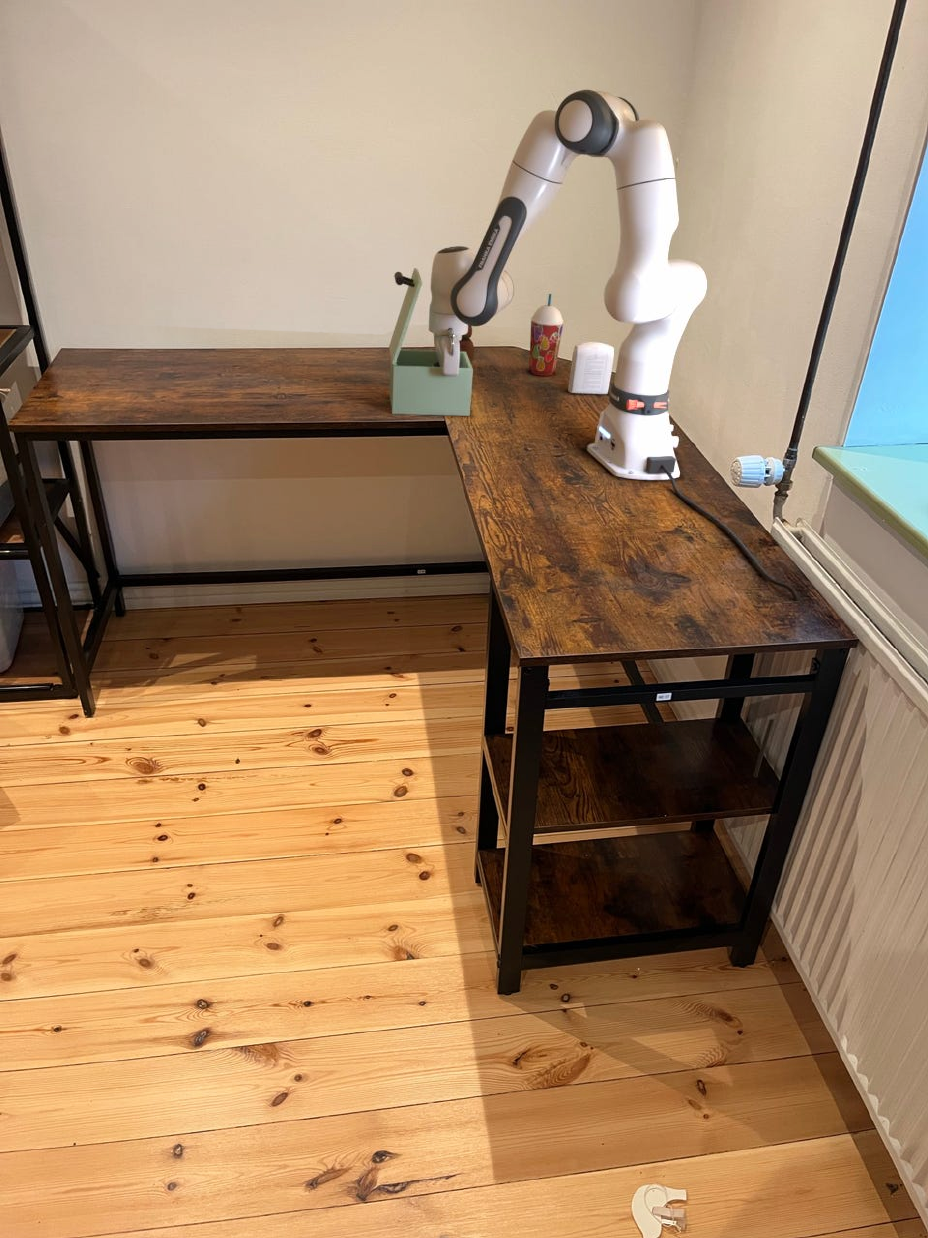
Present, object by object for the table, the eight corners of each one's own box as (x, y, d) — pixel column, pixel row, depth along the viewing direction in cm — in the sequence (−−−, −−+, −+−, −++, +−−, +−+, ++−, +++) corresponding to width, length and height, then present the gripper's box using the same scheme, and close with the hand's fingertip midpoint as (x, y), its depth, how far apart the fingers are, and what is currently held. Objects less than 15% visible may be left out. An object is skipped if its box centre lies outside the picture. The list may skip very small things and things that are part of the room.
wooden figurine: (445, 363, 252) (448, 305, 245) (465, 362, 255) (469, 304, 247) (455, 371, 247) (459, 311, 240) (476, 369, 249) (480, 310, 242)
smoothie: (563, 372, 252) (572, 294, 242) (548, 379, 246) (557, 299, 236) (535, 365, 256) (543, 288, 246) (520, 372, 250) (527, 293, 240)
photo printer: (605, 389, 242) (612, 340, 236) (610, 395, 239) (617, 345, 232) (566, 388, 241) (572, 339, 234) (569, 394, 237) (576, 344, 231)
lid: (417, 268, 214) (396, 261, 212) (422, 282, 202) (399, 274, 201) (392, 347, 222) (371, 340, 221) (395, 364, 211) (373, 357, 209)
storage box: (462, 396, 230) (465, 351, 225) (469, 415, 219) (473, 368, 213) (389, 394, 228) (390, 348, 222) (392, 413, 216) (393, 366, 211)
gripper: (468, 336, 206) (463, 399, 213) (457, 312, 223) (454, 371, 230) (438, 335, 205) (435, 398, 212) (430, 311, 222) (427, 370, 229)
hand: (445, 384), depth 221 cm, fingers closed on camera lens, 6 cm apart
